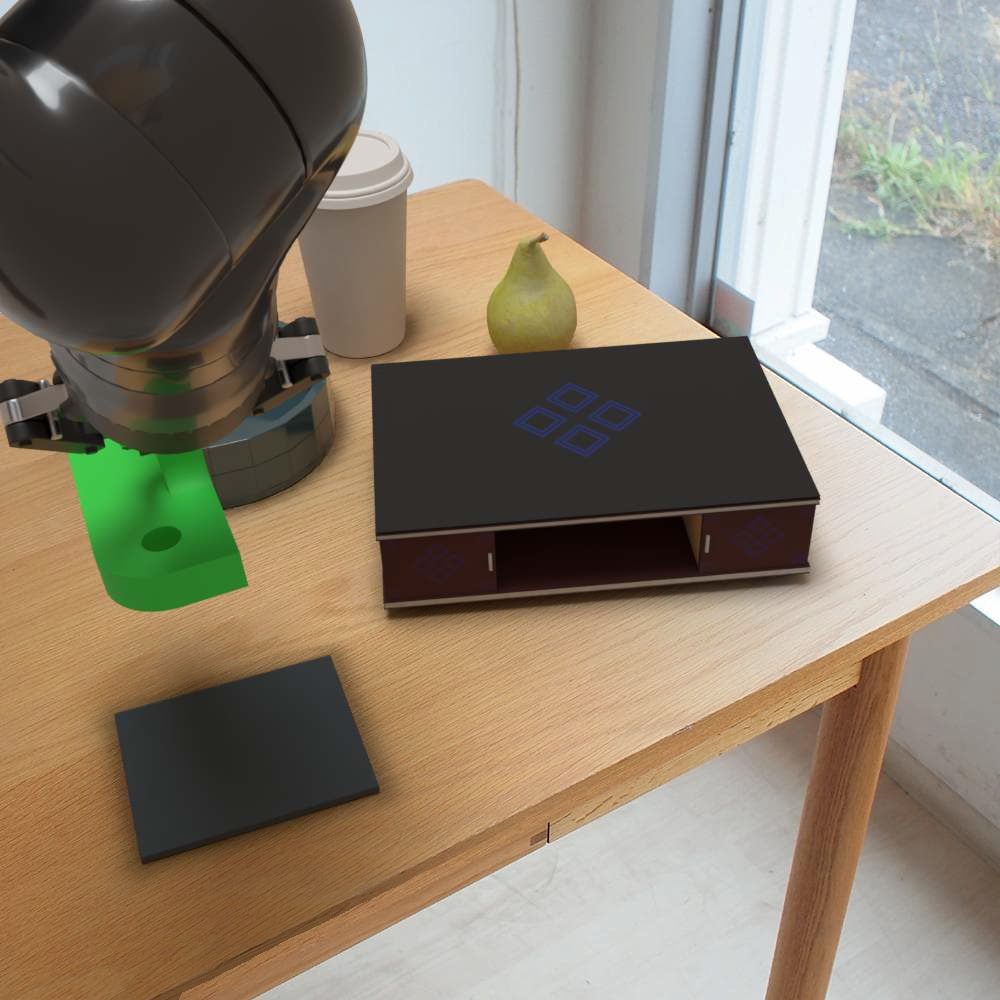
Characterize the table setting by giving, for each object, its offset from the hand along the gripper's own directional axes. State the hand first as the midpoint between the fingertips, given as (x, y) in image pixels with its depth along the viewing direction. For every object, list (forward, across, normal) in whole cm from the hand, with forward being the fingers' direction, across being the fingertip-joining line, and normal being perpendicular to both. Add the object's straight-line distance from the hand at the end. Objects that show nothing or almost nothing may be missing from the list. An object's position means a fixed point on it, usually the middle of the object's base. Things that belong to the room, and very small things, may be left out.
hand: (170, 427), depth 62 cm
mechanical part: (+2, +2, +4) cm, 5 cm away
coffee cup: (+36, -17, -11) cm, 41 cm away
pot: (+29, -4, -5) cm, 30 cm away
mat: (+9, 0, +16) cm, 18 cm away
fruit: (+30, -28, -5) cm, 41 cm away
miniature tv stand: (+18, -24, +8) cm, 31 cm away
